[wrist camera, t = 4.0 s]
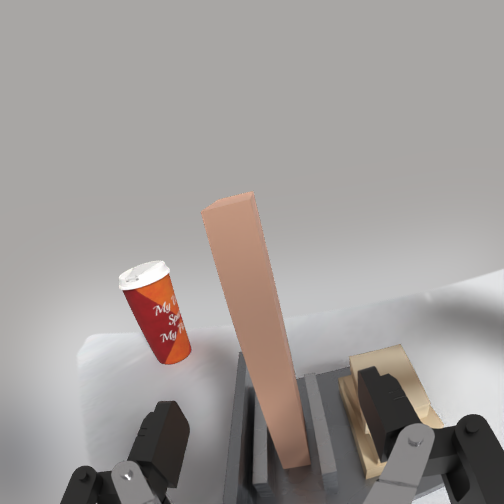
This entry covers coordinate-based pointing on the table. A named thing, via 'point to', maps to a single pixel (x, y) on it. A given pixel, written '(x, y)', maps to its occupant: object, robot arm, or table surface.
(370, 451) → the offcut stack
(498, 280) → the table surface
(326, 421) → the rack
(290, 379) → the pink rectangular bar
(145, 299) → the paper cup
